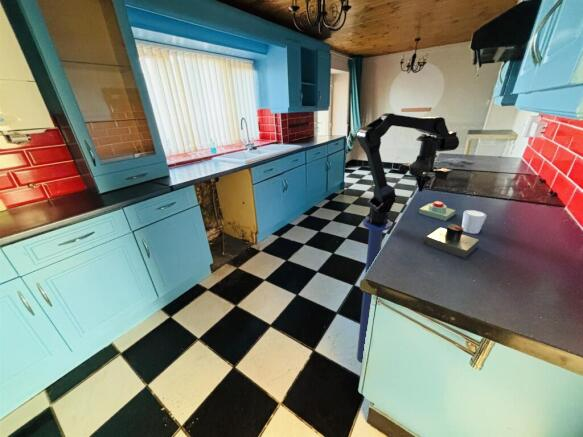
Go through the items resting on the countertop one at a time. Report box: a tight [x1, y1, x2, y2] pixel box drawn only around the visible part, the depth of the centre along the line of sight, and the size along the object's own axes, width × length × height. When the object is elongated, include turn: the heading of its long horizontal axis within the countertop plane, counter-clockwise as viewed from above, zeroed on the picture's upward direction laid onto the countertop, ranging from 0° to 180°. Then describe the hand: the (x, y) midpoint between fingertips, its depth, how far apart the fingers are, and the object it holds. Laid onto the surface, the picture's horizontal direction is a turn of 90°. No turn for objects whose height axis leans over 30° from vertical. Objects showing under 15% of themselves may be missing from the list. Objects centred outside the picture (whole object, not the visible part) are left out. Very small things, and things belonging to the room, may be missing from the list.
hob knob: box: [445, 224, 464, 241], centre depth 79 cm, size 4×4×4 cm
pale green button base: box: [418, 202, 456, 222], centre depth 103 cm, size 11×9×4 cm
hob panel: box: [425, 227, 480, 259], centre depth 80 cm, size 12×10×3 cm
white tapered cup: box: [461, 209, 487, 234], centre depth 88 cm, size 7×7×7 cm
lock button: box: [433, 200, 445, 208], centre depth 102 cm, size 4×4×2 cm
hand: (420, 191), depth 97 cm, fingers closed
